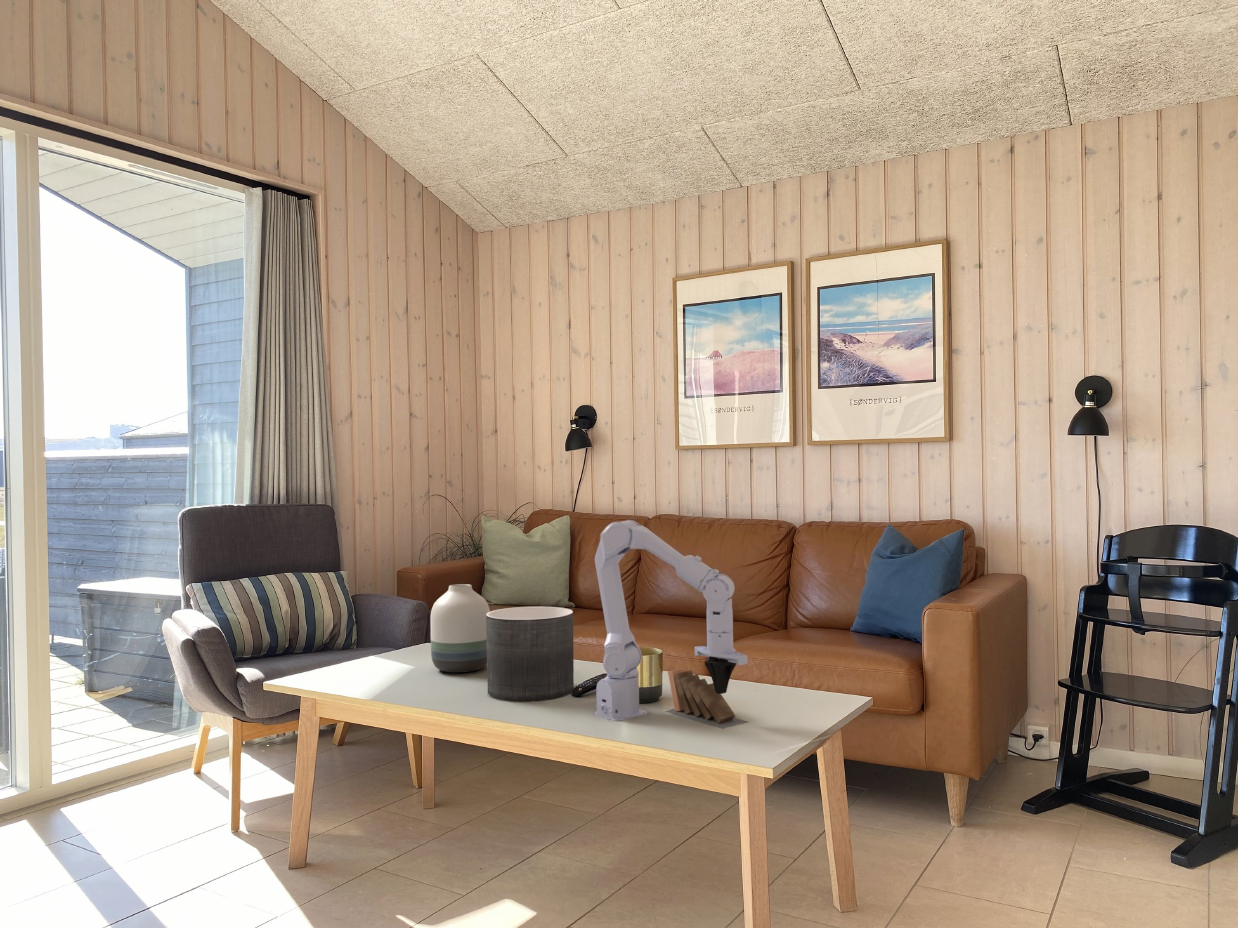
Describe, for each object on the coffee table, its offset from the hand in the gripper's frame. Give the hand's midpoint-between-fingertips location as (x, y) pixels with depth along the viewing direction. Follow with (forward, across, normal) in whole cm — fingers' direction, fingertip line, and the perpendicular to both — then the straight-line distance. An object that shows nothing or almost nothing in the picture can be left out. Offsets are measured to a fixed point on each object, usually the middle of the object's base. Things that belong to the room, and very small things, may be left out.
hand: (721, 692), depth 194 cm
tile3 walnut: (+6, +5, 0) cm, 8 cm away
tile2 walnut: (+6, +2, 0) cm, 6 cm away
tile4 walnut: (+6, +9, 0) cm, 10 cm away
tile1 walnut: (+6, -2, 0) cm, 6 cm away
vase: (+7, +88, +17) cm, 90 cm away
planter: (+7, +52, +16) cm, 55 cm away
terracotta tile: (+6, +12, 0) cm, 13 cm away
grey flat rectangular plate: (+6, +5, 0) cm, 8 cm away
